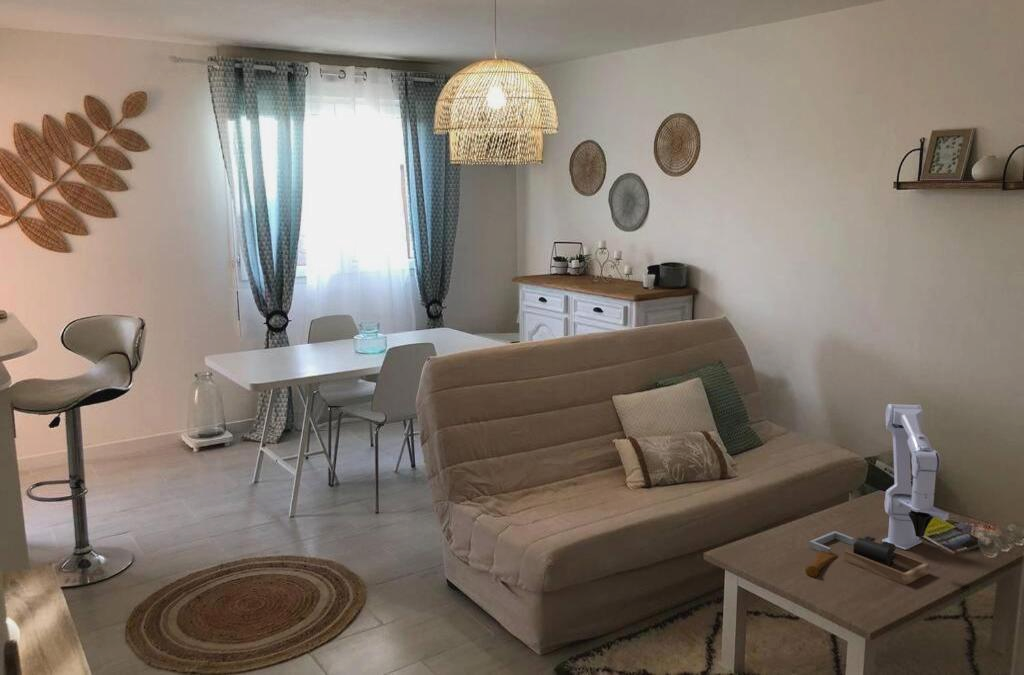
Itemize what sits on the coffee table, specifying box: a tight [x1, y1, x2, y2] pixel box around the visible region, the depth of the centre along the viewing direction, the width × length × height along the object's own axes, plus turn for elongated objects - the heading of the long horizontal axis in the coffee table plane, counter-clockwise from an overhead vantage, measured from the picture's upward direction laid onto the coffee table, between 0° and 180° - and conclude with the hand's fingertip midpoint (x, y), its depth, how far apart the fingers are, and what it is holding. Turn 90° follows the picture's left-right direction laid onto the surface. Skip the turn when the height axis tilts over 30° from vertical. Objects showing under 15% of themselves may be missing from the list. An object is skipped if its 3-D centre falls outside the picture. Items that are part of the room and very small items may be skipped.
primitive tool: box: [805, 551, 838, 578], centre depth 248 cm, size 19×6×4 cm, turn 147°
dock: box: [808, 530, 855, 554], centre depth 261 cm, size 13×7×2 cm, turn 124°
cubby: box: [843, 550, 931, 586], centre depth 246 cm, size 12×20×3 cm, turn 34°
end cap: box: [852, 535, 897, 567], centre depth 249 cm, size 10×7×7 cm
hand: (919, 535), depth 243 cm, fingers closed
